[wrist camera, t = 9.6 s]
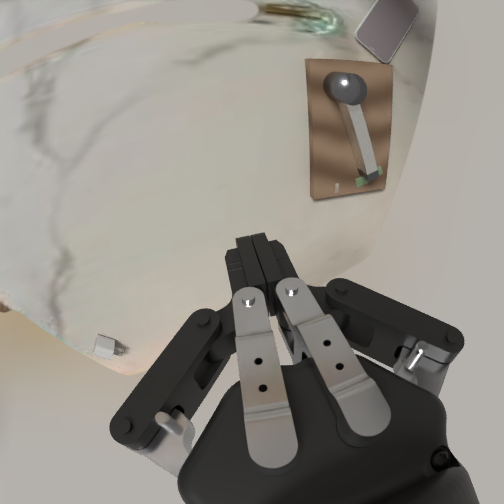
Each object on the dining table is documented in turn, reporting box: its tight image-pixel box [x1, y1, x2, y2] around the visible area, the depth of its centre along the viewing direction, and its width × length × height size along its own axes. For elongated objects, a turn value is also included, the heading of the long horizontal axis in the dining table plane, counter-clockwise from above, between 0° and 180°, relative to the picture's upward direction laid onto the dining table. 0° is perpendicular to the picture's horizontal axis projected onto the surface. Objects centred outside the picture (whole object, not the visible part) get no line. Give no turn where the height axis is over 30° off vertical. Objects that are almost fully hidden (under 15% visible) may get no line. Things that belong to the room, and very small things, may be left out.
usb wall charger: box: [93, 334, 124, 360], centre depth 56 cm, size 4×7×4 cm, turn 54°
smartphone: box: [354, 0, 419, 63], centre depth 28 cm, size 7×1×15 cm
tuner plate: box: [305, 59, 393, 200], centre depth 38 cm, size 22×14×2 cm, turn 6°
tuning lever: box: [323, 71, 379, 181], centre depth 35 cm, size 17×4×4 cm, turn 26°
